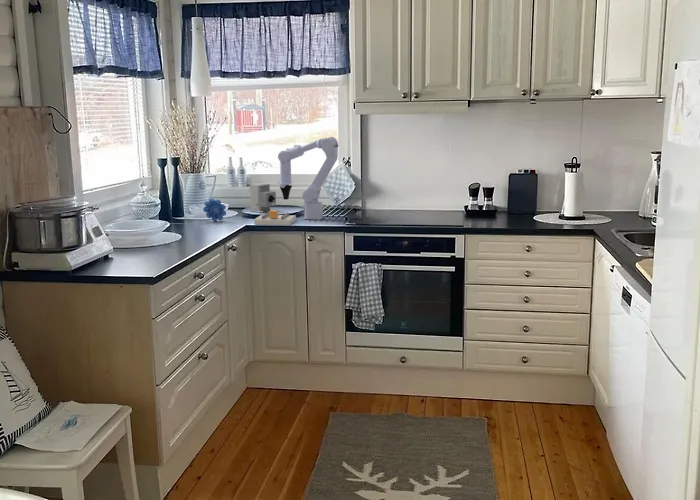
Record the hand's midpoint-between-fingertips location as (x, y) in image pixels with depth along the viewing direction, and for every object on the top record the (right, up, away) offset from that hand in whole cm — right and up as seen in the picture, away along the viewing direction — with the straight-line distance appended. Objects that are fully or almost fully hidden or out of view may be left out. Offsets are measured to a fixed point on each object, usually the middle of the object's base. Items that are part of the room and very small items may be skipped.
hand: (286, 199), depth 378 cm
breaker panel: (-4, -13, -12) cm, 18 cm away
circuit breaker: (-14, -6, +17) cm, 23 cm away
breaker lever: (-5, -10, -16) cm, 19 cm away
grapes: (-36, -12, -10) cm, 39 cm away
